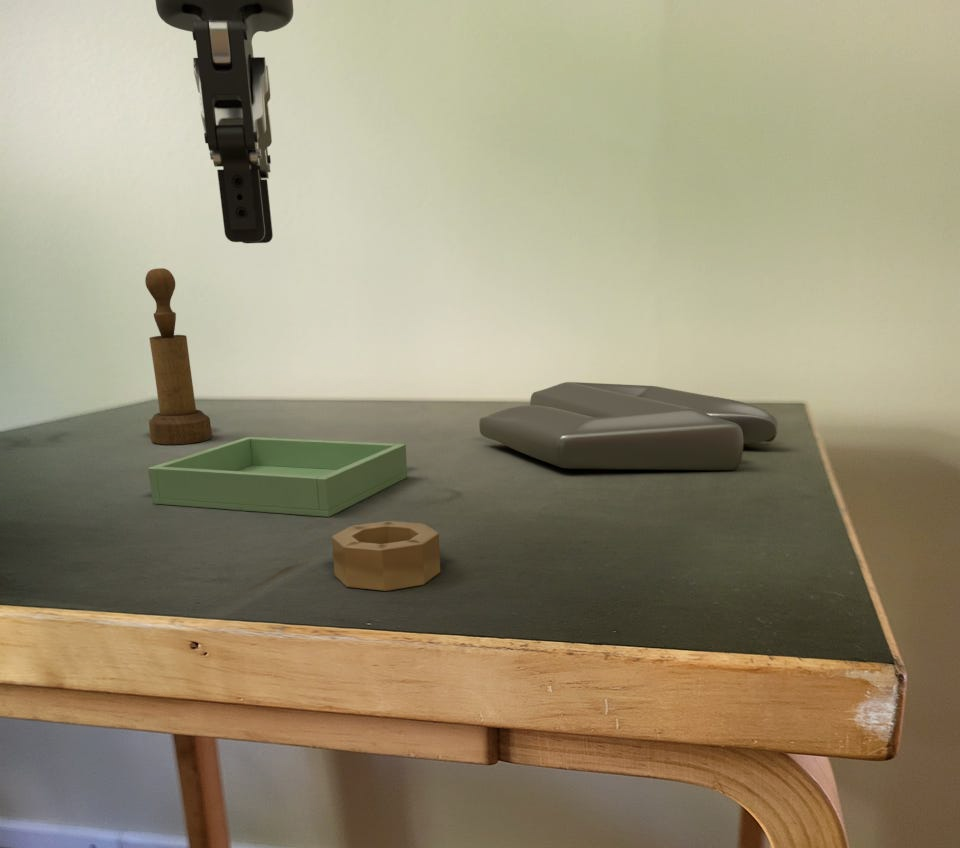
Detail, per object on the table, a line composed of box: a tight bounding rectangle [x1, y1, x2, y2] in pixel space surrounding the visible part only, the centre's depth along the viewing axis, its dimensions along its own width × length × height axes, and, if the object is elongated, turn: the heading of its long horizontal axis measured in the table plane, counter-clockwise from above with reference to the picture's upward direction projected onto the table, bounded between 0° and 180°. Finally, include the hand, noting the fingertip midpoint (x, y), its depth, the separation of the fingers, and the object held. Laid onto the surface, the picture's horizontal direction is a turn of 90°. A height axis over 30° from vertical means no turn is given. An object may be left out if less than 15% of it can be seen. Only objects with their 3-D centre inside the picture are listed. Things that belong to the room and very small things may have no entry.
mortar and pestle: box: [144, 267, 213, 446], centre depth 106 cm, size 7×6×18 cm
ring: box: [331, 520, 441, 592], centre depth 61 cm, size 6×6×3 cm
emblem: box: [478, 381, 779, 471], centre depth 97 cm, size 28×5×28 cm
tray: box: [147, 436, 408, 518], centre depth 83 cm, size 17×15×3 cm
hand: (251, 242), depth 59 cm, fingers open, 8 cm apart
